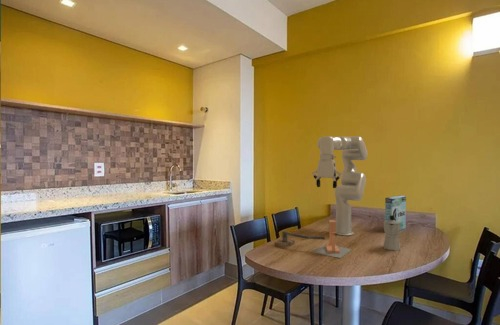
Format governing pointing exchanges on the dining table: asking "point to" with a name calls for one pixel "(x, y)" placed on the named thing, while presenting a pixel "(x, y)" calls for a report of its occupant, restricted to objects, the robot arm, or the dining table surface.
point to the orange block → (332, 238)
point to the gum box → (396, 209)
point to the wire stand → (287, 243)
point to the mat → (323, 251)
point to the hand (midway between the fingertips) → (326, 187)
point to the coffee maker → (391, 234)
